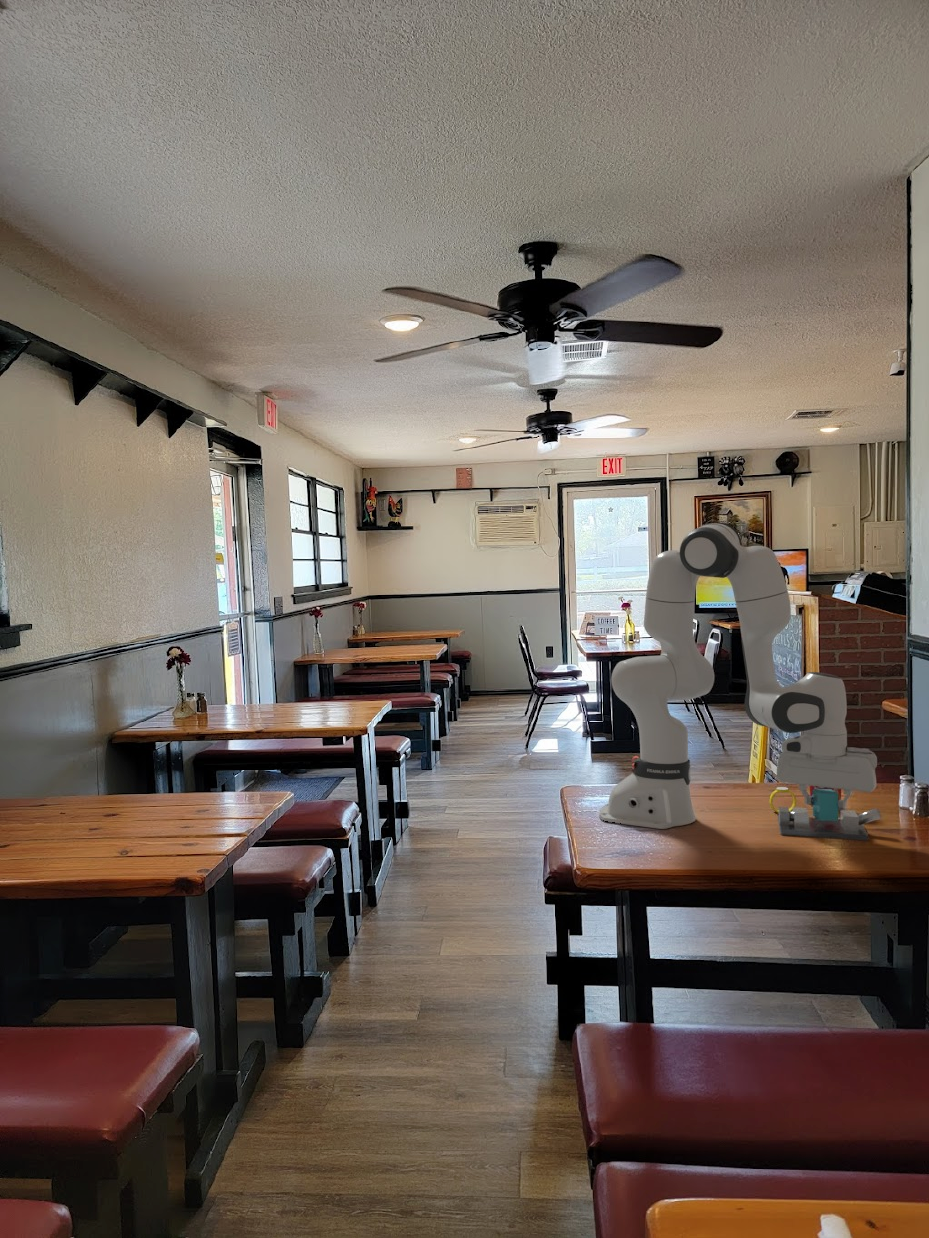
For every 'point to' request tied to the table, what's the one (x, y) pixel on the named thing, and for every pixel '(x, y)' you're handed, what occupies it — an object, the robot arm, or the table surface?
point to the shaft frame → (826, 824)
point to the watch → (783, 790)
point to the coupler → (825, 805)
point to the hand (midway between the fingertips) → (825, 806)
